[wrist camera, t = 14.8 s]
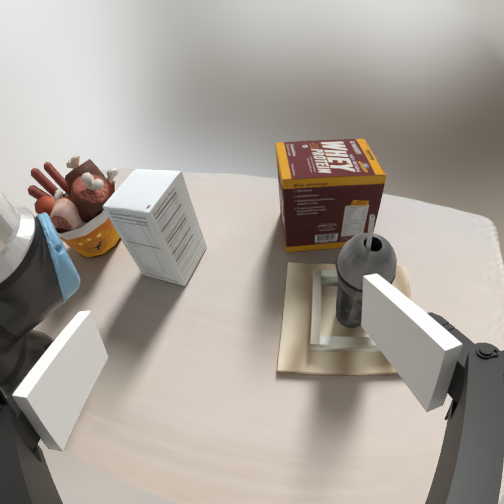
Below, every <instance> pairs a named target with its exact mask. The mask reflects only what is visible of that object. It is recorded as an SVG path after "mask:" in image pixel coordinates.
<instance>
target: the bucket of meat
mask: <svg viewBox="0 0 504 504" xmlns="http://www.w3.org/2000/svg"><path fill="white" fill-rule="evenodd" d="M67 167H68V168H73V170H72V171H71V172H70V173H68V174H67V175H66V177H65V179H64V178H63V177H62V176H61V175H60V174H59V172H58V171H57V170H56V169H55V168H54V167H53V166H52V165H51V164H50V163H49V162H46V163H45V164H44V169H45V170H46V172H47V173H48V174H49V175H50V176H51V177H52V178H53V179H54V180H55V182H56V183H57V184H58V185H59V186H60V187H61V188H62V189H63V190H64V191H65V192H66V193H65V194H63V192H62V191H61V189H58V188H56V186H55V185H53V183H51V181H50V180H48V178H46V176H44V175H43V173H41V171H40V170H38V169H36V168H33V169H32V170H31V176H32V177H33V178H34V179H35V180H36V181H37V182H38V183H39V184H41V186H43V188H44V189H46V190H47V191H48V192H49V193H50V194H51V195H52V196H53V197H54V198H53V197H52V196H50V195H49V194H47V193H45V192H44V191H42V190H41V189H39V188H37V187H36V186H34V185H33V186H30V187H29V188H28V192H29V195H31V196H33V197H34V198H36V199H37V201H36V203H35V211H36V212H37V213H38V214H42V213H44V212H45V213H47V214H48V216H49V217H50V219H51V221H52V223H53V225H54V227H55V229H56V231H57V233H58V235H59V237H60V239H62V240H63V241H64V242H65V243H66V244H68V245H69V246H70V247H71V248H73V249H74V250H75V251H76V252H78V253H80V254H82V255H84V256H86V257H94V256H98V255H102V254H105V253H106V252H107V251H109V250H110V249H111V248H113V247H114V246H115V245H116V243H117V242H118V240H119V239H120V236H119V234H118V233H117V231H116V229H115V228H114V226H113V224H112V223H111V221H110V219H109V217H108V216H107V214H106V212H105V210H104V209H103V205H104V204H105V203H106V202H107V200H108V199H109V198H110V197H111V196H112V194H113V193H114V192H115V191H116V183H115V181H113V178H114V177H115V176H116V175H117V174H118V170H117V169H116V168H113V169H108V171H107V175H108V178H106V177H105V176H104V175H103V174H102V172H101V171H100V170H99V169H98V167H97V166H96V165H95V164H94V163H93V162H92V161H91V160H90V159H89V160H88V161H86V162H85V163H83V164H82V165H80V166H79V156H78V155H74V156H73V157H72V158H71V160H69V161H68V163H67Z"/></svg>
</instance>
